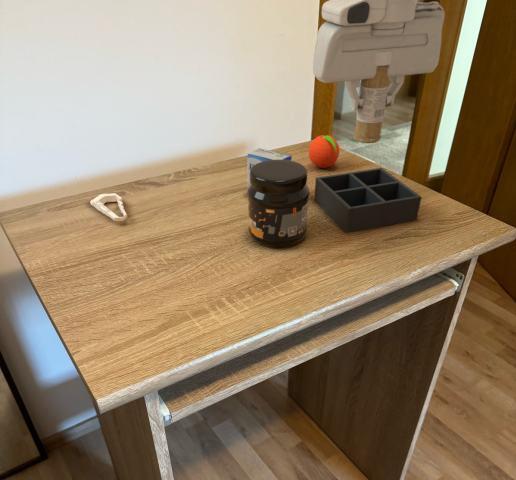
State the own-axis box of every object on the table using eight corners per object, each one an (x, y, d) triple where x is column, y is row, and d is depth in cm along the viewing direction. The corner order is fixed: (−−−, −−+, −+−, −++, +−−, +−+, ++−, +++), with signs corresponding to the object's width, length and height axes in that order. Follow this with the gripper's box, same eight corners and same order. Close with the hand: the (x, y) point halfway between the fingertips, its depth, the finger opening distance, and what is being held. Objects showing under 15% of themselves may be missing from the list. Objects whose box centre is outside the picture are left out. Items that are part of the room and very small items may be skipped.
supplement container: (242, 225, 91) (240, 161, 83) (296, 218, 93) (299, 155, 85) (256, 253, 83) (255, 186, 75) (314, 245, 85) (319, 178, 77)
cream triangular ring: (141, 219, 93) (139, 210, 92) (117, 227, 91) (115, 218, 90) (111, 196, 101) (110, 188, 100) (89, 203, 99) (87, 195, 98)
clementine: (346, 170, 110) (350, 138, 105) (321, 176, 108) (324, 143, 103) (326, 159, 115) (328, 127, 111) (301, 165, 113) (303, 133, 108)
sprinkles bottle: (371, 133, 85) (383, 44, 76) (385, 142, 81) (400, 49, 72) (348, 137, 83) (357, 46, 74) (361, 146, 80) (373, 52, 71)
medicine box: (247, 195, 101) (245, 153, 95) (259, 188, 104) (258, 146, 98) (278, 204, 97) (279, 161, 92) (290, 196, 100) (292, 154, 94)
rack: (378, 189, 102) (381, 167, 99) (416, 219, 92) (421, 196, 89) (314, 199, 99) (315, 177, 96) (346, 232, 89) (349, 209, 85)
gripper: (434, -2, 75) (416, 96, 84) (311, 5, 70) (306, 108, 79) (459, 3, 70) (437, 106, 79) (330, 11, 65) (322, 120, 74)
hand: (371, 107), depth 79 cm, fingers closed on sprinkles bottle, 4 cm apart
